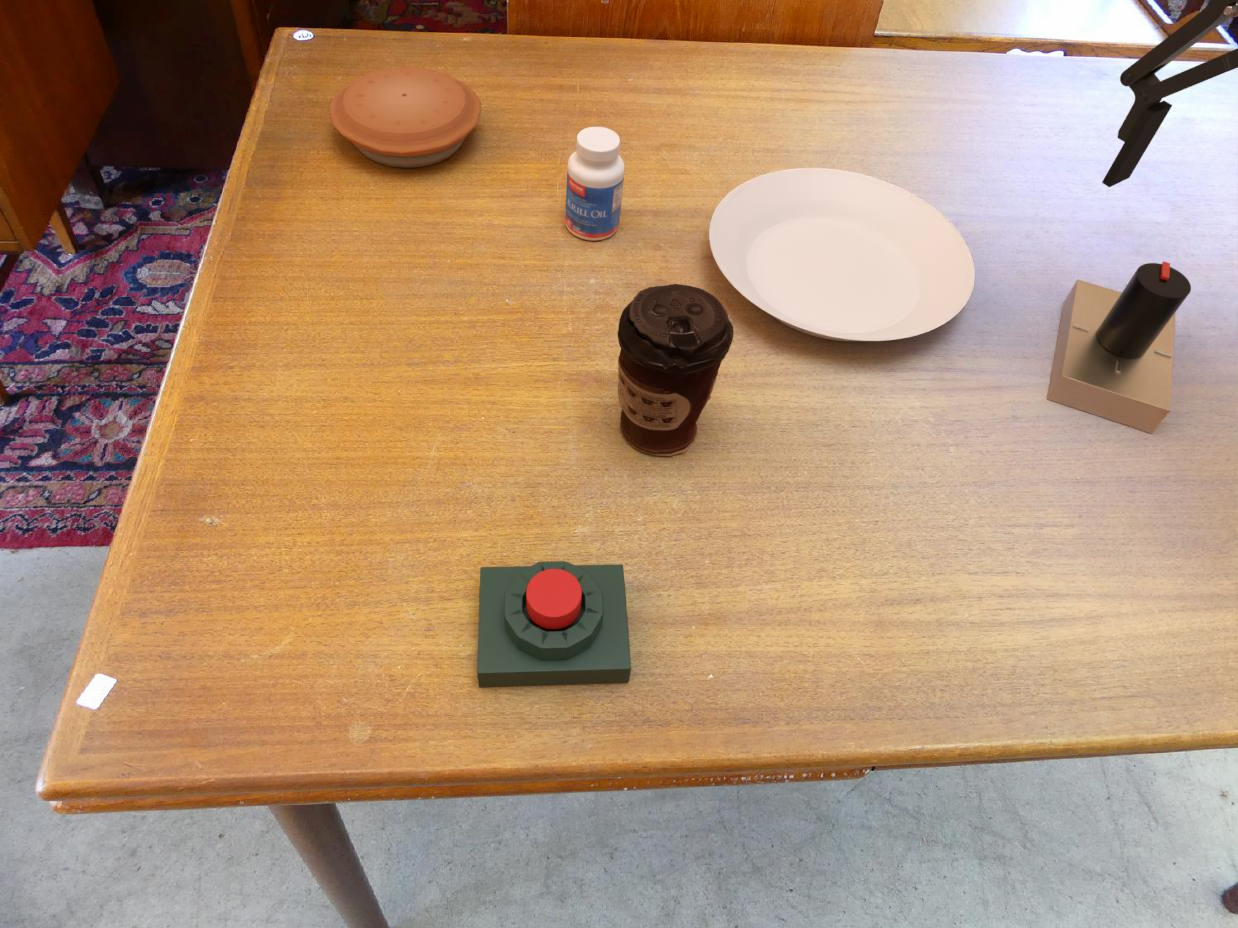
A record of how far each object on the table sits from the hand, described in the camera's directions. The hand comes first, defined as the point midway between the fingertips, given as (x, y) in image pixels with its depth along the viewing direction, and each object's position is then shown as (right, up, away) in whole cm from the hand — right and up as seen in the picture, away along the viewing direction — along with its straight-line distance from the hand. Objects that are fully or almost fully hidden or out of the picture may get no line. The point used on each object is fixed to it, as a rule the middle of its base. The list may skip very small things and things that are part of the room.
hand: (1186, 226), depth 72 cm
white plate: (-24, -1, +17) cm, 29 cm away
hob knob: (0, -8, +10) cm, 12 cm away
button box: (-49, -30, -8) cm, 58 cm away
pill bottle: (-47, +5, +19) cm, 51 cm away
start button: (-49, -28, -11) cm, 58 cm away
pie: (-67, +16, +26) cm, 74 cm away
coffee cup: (-41, -16, +4) cm, 45 cm away
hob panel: (0, -10, +12) cm, 15 cm away
